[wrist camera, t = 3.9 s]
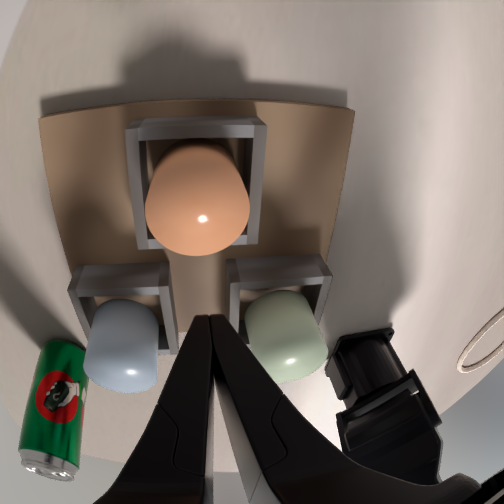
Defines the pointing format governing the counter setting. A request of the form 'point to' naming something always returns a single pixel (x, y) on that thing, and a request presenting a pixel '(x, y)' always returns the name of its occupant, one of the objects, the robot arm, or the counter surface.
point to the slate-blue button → (123, 347)
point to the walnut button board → (136, 190)
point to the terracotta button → (196, 198)
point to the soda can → (55, 412)
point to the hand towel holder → (475, 340)
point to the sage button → (285, 335)
